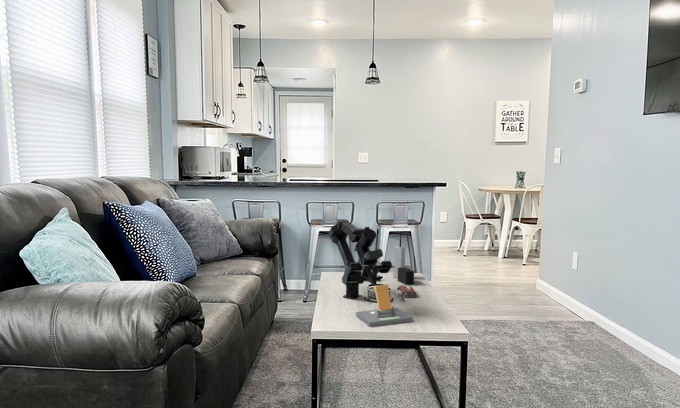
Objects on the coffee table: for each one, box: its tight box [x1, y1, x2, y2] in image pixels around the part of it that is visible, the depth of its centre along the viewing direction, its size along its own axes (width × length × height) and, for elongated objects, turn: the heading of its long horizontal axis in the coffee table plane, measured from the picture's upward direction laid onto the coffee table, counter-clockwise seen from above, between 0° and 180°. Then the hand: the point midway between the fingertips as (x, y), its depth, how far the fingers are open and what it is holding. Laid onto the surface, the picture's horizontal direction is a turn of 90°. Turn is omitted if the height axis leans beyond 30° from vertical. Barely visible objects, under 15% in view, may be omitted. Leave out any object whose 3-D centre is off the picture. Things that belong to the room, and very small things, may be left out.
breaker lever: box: [373, 284, 393, 315], centre depth 172 cm, size 2×6×11 cm, turn 110°
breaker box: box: [355, 305, 414, 327], centre depth 172 cm, size 13×18×4 cm
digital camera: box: [397, 266, 415, 286], centre depth 229 cm, size 10×5×7 cm, turn 17°
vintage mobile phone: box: [392, 231, 406, 279], centre depth 239 cm, size 4×5×25 cm
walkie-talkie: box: [395, 284, 417, 301], centre depth 204 cm, size 9×4×20 cm
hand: (375, 285), depth 179 cm, fingers closed
